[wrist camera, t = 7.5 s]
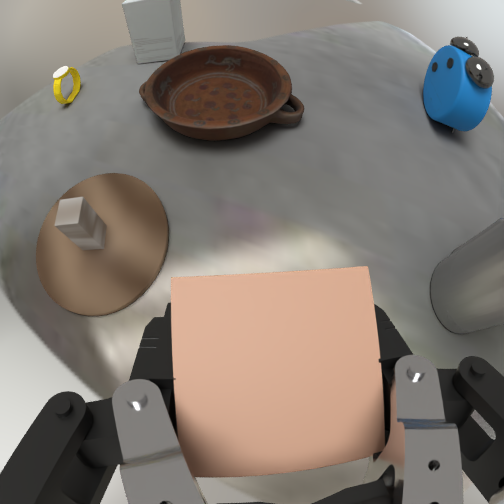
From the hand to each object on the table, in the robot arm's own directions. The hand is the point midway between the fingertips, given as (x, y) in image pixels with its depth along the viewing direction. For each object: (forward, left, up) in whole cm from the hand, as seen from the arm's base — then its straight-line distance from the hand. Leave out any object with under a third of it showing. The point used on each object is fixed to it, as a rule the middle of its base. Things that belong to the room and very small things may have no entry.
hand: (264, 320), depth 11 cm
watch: (-12, -44, -18) cm, 49 cm away
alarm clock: (-46, +5, -18) cm, 49 cm away
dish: (-22, -21, -18) cm, 35 cm away
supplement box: (-28, -39, -18) cm, 51 cm away
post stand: (+1, -19, -17) cm, 26 cm away
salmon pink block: (+1, +1, -5) cm, 5 cm away
